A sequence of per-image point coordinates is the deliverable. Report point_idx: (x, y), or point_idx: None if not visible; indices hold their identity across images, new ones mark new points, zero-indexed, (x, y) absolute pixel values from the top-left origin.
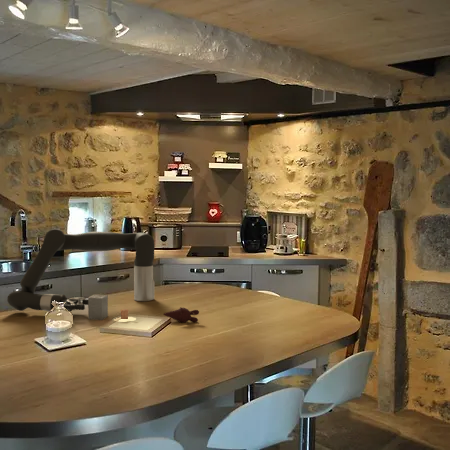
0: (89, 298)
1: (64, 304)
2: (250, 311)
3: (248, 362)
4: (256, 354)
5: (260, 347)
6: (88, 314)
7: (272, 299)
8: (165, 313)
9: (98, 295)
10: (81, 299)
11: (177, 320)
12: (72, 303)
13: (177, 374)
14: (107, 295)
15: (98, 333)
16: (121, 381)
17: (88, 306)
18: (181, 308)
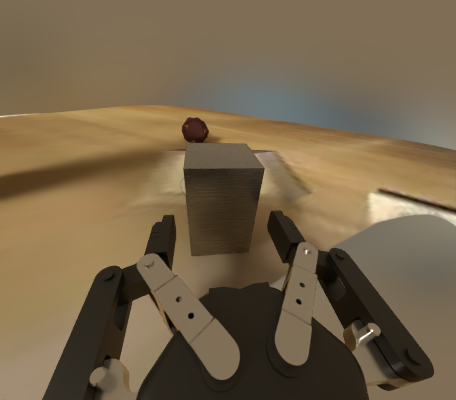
0: (261, 170)
1: (371, 312)
2: (130, 120)
3: (281, 122)
4: (263, 121)
5: (247, 120)
6: (251, 234)
7: (68, 114)
8: (203, 133)
9: (207, 155)
10: (166, 269)
11: (198, 140)
12: (302, 267)
13: (338, 135)
14: (190, 144)
15: (319, 193)
16: (392, 148)
17: (256, 207)
18: (198, 118)
